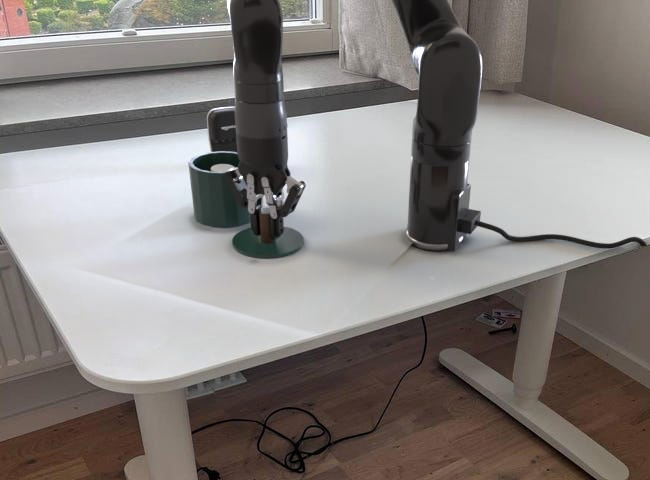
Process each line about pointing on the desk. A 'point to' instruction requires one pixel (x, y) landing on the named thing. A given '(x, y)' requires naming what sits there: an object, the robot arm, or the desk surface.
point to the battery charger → (222, 129)
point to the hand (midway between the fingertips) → (267, 235)
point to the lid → (267, 240)
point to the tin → (215, 192)
